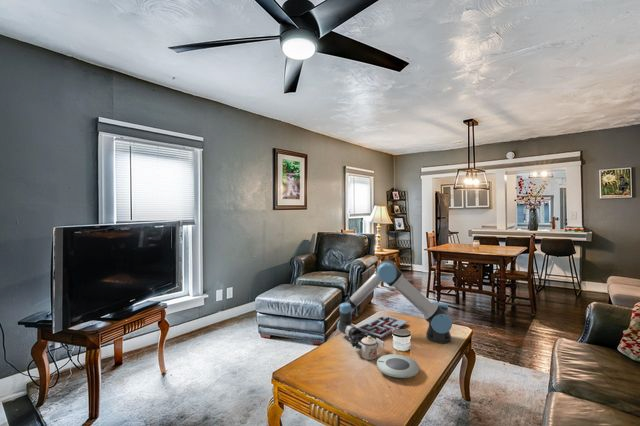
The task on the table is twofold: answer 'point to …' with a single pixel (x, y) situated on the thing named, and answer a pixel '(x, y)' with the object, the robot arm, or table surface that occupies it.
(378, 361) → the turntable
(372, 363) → the table surface
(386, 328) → the maze game
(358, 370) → the table surface
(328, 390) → the table surface
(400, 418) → the table surface
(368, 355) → the teacup with lid
